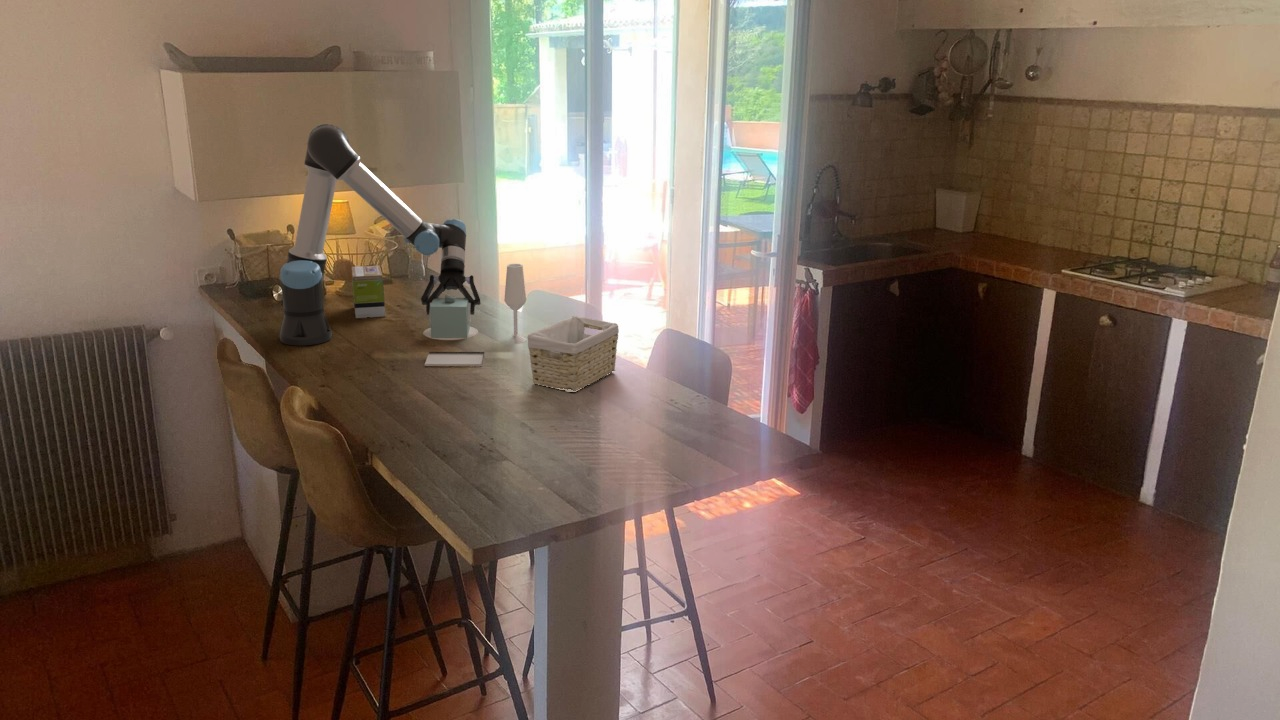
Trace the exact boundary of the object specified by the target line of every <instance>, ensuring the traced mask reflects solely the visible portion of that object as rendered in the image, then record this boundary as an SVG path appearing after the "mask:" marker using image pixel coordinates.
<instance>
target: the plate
mask: <svg viewBox="0 0 1280 720" xmlns="http://www.w3.org/2000/svg"><path fill="white" fill-rule="evenodd" d="M422 333H423V336H425V337H427V338H429V339H433V340H437V341H438V340H439V341H440V340H441V341H457V340H458V341H459V340H464V339H469V338H471V337H472V338H473V337H474V336H476V335H478V334H479V330H478V329H477V328H475V327H472V326H470V329H469V333H468V337H467V338H431V327H428V328H426V329H425V330H424V331H423V332H422Z"/></svg>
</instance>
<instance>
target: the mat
mask: <svg viewBox="0 0 1280 720" xmlns="http://www.w3.org/2000/svg"><path fill="white" fill-rule="evenodd" d="M484 355H485V351H429V352H428V354H427V357H426V359H425V363H424V367H425V366H470V368H473V367H474V366H476V367H480V366H481V367H482V365H483V361H484V360H483V359H484ZM472 366H473V367H472Z"/></svg>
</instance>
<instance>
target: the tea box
mask: <svg viewBox="0 0 1280 720" xmlns="http://www.w3.org/2000/svg"><path fill="white" fill-rule="evenodd" d="M350 268H351V282H352V296H353V306H354V314H355V318H356V319H368V318H367V317H370V318H382V317H383V318H384V317H386V305H385V304H386V302H385V289H384V278H383V277H384V275H383V272H382V269H381V265H364V266H363V265H362V266H351V267H350Z"/></svg>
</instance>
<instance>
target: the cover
mask: <svg viewBox="0 0 1280 720" xmlns="http://www.w3.org/2000/svg"><path fill="white" fill-rule="evenodd" d="M468 303H469V300H468V299H467V298H465V297H455V296H453V295H446V296H444V297H438V298H435V299H433V301H432V303H431V305H430V323H431V325H430V328H431V338H430V339H432V338H465V339H468V338H467V337H468V333H469V329H470V327H471V324H470V325H468V322H467V317H468ZM430 323H429V324H430Z"/></svg>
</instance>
